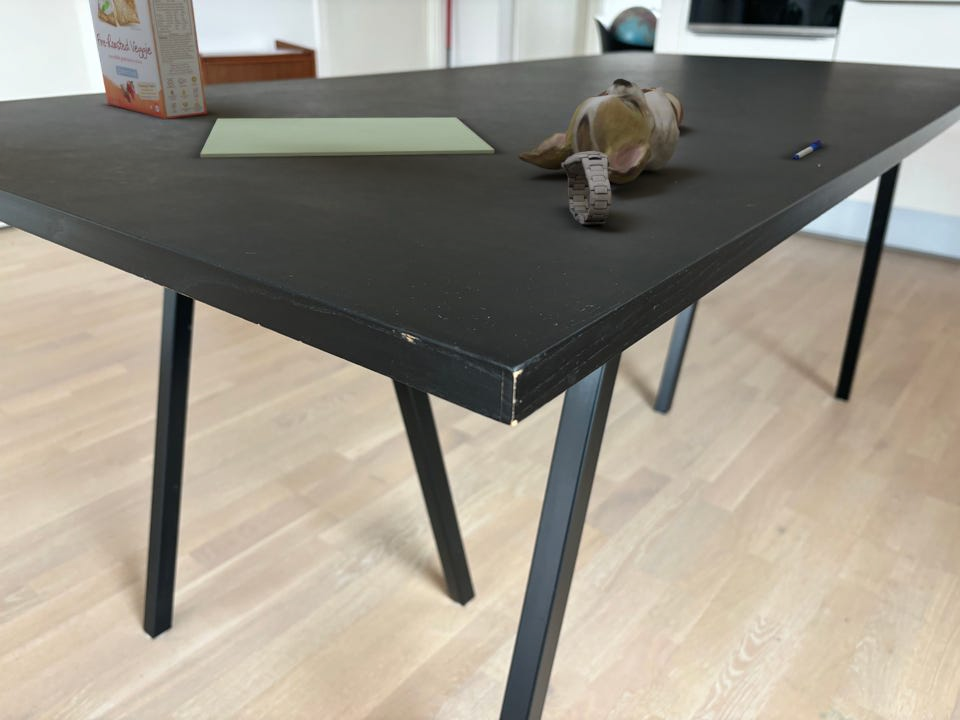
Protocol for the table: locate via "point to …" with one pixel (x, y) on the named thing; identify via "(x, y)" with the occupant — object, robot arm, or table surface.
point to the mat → (340, 137)
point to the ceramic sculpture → (616, 132)
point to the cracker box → (150, 56)
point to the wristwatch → (588, 187)
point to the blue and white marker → (808, 150)
